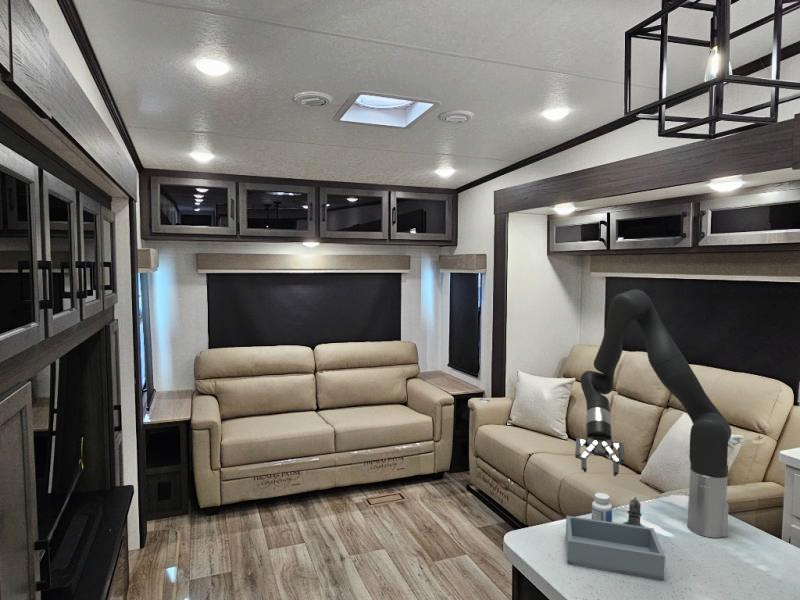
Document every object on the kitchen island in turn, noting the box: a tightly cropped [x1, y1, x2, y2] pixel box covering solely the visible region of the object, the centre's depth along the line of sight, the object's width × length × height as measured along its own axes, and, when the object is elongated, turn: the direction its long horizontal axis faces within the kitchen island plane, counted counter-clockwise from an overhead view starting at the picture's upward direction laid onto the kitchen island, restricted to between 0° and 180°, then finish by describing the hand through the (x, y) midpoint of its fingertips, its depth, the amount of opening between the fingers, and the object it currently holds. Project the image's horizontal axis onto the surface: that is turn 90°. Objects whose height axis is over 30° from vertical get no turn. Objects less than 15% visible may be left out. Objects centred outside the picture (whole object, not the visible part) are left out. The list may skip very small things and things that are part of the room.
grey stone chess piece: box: [622, 497, 645, 527], centre depth 140 cm, size 6×6×12 cm
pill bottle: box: [591, 492, 613, 522], centre depth 146 cm, size 6×5×10 cm
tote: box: [565, 515, 666, 581], centre depth 131 cm, size 22×14×6 cm, turn 74°
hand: (600, 473), depth 154 cm, fingers open, 8 cm apart
